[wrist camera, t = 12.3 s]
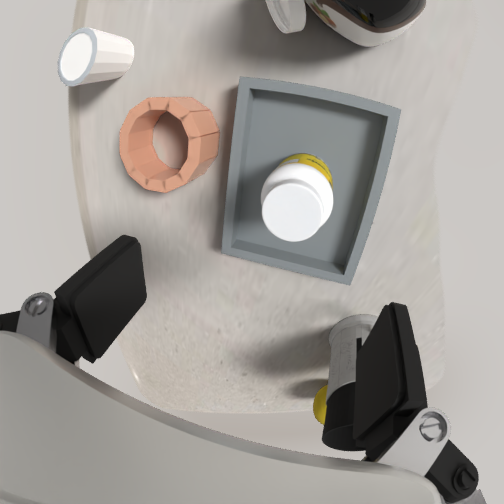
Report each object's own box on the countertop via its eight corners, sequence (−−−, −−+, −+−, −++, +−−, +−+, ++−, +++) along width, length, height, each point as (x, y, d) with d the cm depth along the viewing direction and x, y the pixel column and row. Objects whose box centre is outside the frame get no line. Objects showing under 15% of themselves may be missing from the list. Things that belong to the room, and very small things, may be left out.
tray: (248, 79, 23) (239, 76, 21) (394, 109, 21) (401, 109, 18) (229, 241, 32) (221, 253, 30) (349, 271, 30) (350, 285, 28)
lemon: (334, 369, 38) (329, 413, 32) (357, 384, 39) (354, 426, 32) (309, 383, 41) (301, 424, 35) (332, 396, 42) (327, 436, 35)
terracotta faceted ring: (146, 97, 26) (121, 98, 22) (223, 99, 25) (204, 98, 21) (143, 174, 31) (120, 184, 27) (214, 185, 30) (197, 198, 26)
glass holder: (321, 352, 37) (305, 447, 25) (353, 271, 30) (356, 382, 17) (376, 363, 36) (376, 455, 23) (419, 287, 29) (449, 392, 16)
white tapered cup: (113, 94, 27) (71, 99, 21) (90, 64, 25) (50, 65, 19) (148, 53, 23) (106, 47, 18) (121, 24, 22) (81, 16, 16)
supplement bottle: (342, 192, 25) (347, 235, 17) (292, 213, 28) (274, 263, 20) (316, 141, 24) (310, 158, 16) (266, 166, 26) (234, 195, 18)
